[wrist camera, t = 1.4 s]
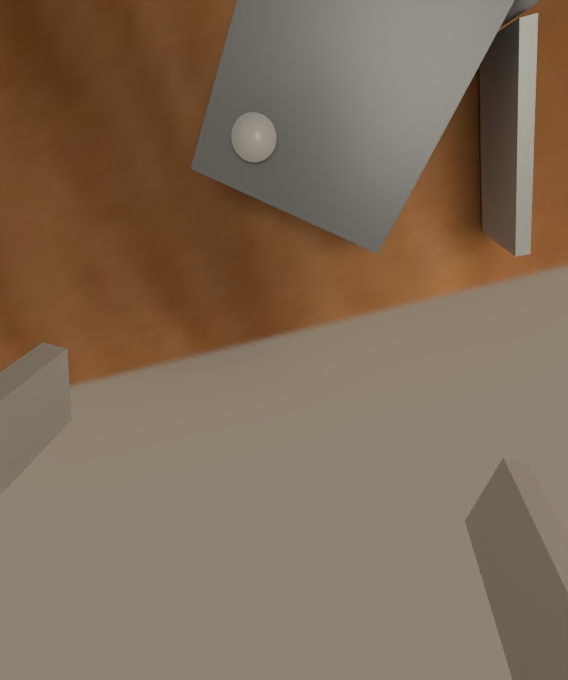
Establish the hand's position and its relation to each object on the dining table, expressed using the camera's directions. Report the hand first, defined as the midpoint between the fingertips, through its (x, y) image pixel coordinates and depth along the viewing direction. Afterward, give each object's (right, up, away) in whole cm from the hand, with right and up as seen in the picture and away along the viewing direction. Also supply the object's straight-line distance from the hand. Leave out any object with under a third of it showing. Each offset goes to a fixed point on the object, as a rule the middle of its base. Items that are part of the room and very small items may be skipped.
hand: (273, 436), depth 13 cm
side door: (+14, +16, +15) cm, 26 cm away
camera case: (+4, +20, +16) cm, 25 cm away
